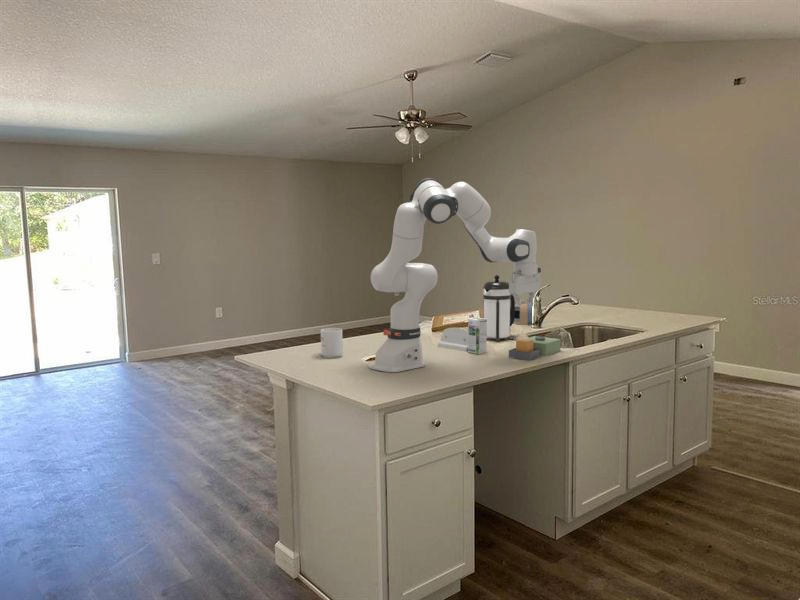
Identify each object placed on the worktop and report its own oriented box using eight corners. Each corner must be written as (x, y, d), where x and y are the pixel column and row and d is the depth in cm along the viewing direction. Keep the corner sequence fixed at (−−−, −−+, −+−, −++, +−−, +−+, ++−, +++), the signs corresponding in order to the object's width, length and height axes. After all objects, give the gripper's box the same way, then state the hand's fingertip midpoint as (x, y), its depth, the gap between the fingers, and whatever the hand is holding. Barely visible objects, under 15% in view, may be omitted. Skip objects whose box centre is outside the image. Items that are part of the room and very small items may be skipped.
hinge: (436, 346, 267) (441, 324, 268) (443, 348, 270) (447, 326, 271) (466, 351, 255) (471, 328, 256) (473, 353, 259) (478, 331, 260)
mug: (347, 356, 249) (346, 329, 248) (328, 359, 244) (327, 332, 242) (331, 351, 258) (331, 326, 257) (313, 354, 253) (312, 328, 252)
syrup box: (467, 352, 254) (467, 318, 252) (477, 350, 258) (477, 316, 256) (477, 354, 250) (477, 319, 248) (487, 352, 253) (487, 318, 252)
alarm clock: (494, 323, 327) (494, 301, 325) (512, 319, 342) (513, 297, 340) (526, 327, 314) (526, 304, 313) (543, 322, 330) (544, 300, 328)
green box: (545, 356, 245) (546, 341, 244) (519, 352, 253) (519, 338, 252) (560, 350, 255) (560, 336, 254) (534, 347, 262) (534, 333, 262)
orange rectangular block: (527, 359, 240) (527, 341, 240) (515, 357, 244) (516, 340, 243) (533, 356, 244) (533, 339, 243) (522, 355, 247) (522, 338, 246)
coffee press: (515, 342, 273) (516, 276, 270) (479, 342, 276) (480, 276, 272) (514, 335, 290) (515, 273, 286) (480, 335, 293) (481, 273, 289)
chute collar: (529, 360, 237) (529, 353, 237) (508, 357, 243) (508, 350, 243) (540, 356, 244) (540, 349, 244) (520, 353, 250) (520, 346, 250)
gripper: (519, 271, 230) (519, 307, 232) (543, 268, 246) (543, 302, 248) (504, 271, 234) (504, 306, 236) (529, 267, 250) (529, 301, 252)
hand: (524, 304), depth 242 cm, fingers open, 8 cm apart
